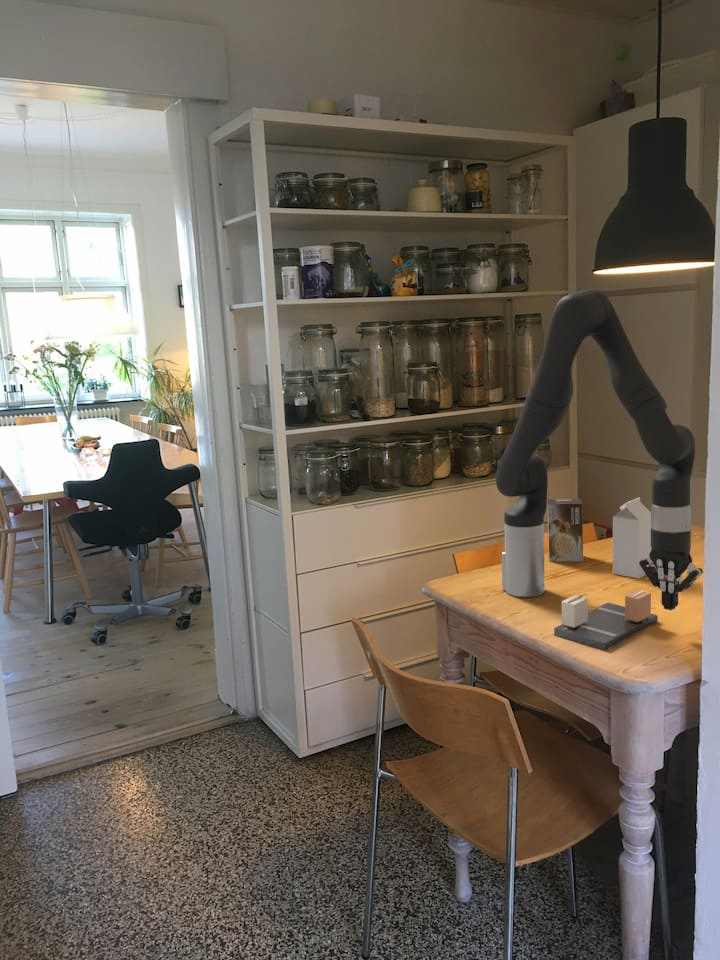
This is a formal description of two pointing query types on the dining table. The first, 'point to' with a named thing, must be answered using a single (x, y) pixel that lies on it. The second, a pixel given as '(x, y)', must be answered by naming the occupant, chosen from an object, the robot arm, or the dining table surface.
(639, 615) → the fader terracotta
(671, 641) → the dining table surface
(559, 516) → the coffee box
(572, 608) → the block
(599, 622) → the console board
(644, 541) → the milk carton
